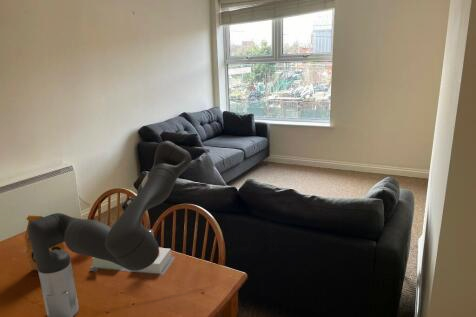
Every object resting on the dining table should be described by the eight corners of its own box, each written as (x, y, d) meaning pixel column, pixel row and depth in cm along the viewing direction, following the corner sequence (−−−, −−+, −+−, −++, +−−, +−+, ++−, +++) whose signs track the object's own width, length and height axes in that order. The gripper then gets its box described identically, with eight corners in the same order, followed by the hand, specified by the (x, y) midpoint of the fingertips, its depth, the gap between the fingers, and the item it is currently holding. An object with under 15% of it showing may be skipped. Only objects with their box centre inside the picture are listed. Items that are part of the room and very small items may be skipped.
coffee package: (50, 278, 136) (40, 224, 130) (27, 271, 141) (16, 219, 135) (72, 264, 145) (63, 213, 139) (49, 258, 150) (40, 209, 144)
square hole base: (175, 260, 146) (174, 248, 144) (163, 278, 134) (162, 265, 133) (107, 254, 152) (105, 242, 150) (90, 270, 140) (88, 258, 139)
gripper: (140, 202, 112) (124, 226, 122) (176, 189, 122) (158, 212, 133) (128, 182, 114) (113, 207, 124) (165, 171, 124) (148, 195, 135)
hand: (136, 210), depth 128 cm, fingers open, 8 cm apart
